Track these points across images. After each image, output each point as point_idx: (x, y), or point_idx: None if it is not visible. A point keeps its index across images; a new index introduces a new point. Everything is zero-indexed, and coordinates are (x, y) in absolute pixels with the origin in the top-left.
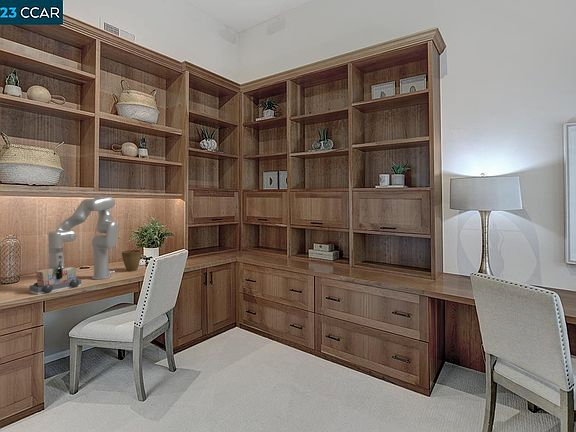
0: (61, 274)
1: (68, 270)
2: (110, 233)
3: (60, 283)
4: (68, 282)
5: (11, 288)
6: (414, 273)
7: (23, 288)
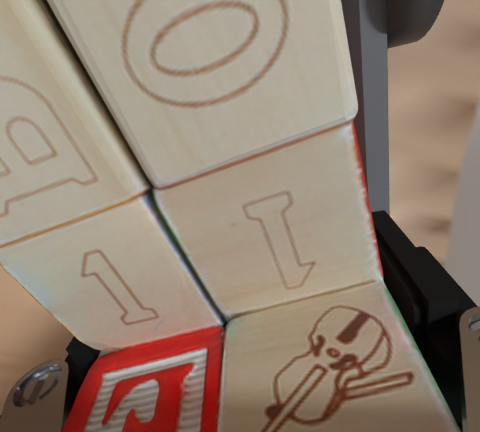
0: (454, 281)
1: (334, 27)
2: None
3: (373, 204)
4: (386, 80)
5: (3, 401)
6: None
7: None
